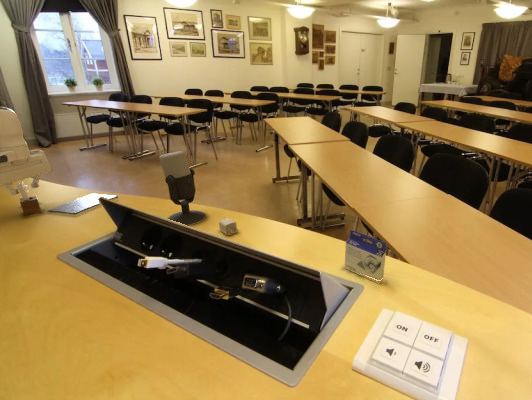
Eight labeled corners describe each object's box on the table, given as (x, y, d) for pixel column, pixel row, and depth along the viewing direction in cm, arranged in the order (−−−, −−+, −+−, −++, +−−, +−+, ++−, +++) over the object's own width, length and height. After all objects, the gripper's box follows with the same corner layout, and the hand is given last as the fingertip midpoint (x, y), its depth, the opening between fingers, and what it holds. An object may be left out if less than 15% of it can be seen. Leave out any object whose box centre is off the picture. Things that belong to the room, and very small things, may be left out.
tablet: (47, 212, 122) (46, 210, 121) (92, 195, 140) (92, 193, 139) (75, 216, 119) (75, 213, 119) (117, 197, 137) (117, 195, 137)
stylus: (30, 212, 120) (14, 184, 114) (33, 211, 121) (18, 182, 115) (33, 213, 120) (17, 184, 114) (36, 211, 121) (21, 182, 115)
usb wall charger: (230, 228, 112) (229, 217, 110) (241, 234, 107) (240, 224, 106) (220, 231, 109) (218, 220, 108) (230, 238, 105) (229, 227, 103)
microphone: (184, 209, 126) (175, 147, 117) (212, 214, 122) (205, 149, 113) (159, 223, 115) (147, 154, 106) (189, 228, 111) (179, 158, 102)
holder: (24, 213, 121) (19, 198, 118) (41, 210, 124) (36, 195, 121) (25, 217, 117) (19, 202, 115) (42, 214, 120) (37, 199, 118)
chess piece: (22, 208, 125) (13, 184, 121) (22, 204, 128) (13, 181, 125) (38, 205, 128) (30, 181, 124) (38, 201, 131) (30, 178, 128)
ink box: (343, 268, 89) (345, 231, 85) (348, 265, 91) (350, 228, 87) (379, 285, 82) (383, 246, 78) (384, 281, 84) (388, 242, 80)
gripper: (36, 147, 122) (46, 181, 127) (-29, 159, 104) (-13, 199, 109) (49, 148, 121) (59, 182, 126) (-14, 161, 102) (1, 201, 107)
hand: (25, 190), depth 117 cm, fingers open, 6 cm apart
